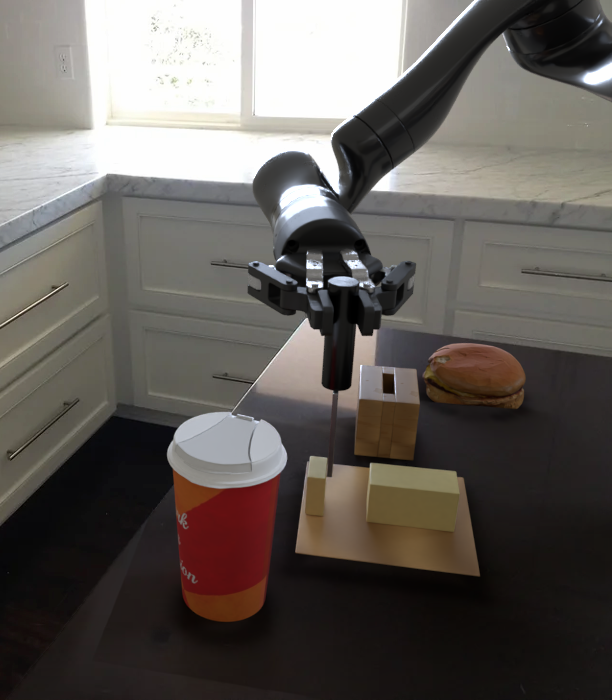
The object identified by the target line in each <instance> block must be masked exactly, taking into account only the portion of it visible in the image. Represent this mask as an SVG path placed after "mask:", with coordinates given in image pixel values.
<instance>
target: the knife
mask: <svg viewBox="0 0 612 700" xmlns="http://www.w3.org/2000/svg"><path fill="white" fill-rule="evenodd" d="M359 287H360V282H359V281H358V280H357V279H354V278H351V277H334V278H331V279H329V281H328V291H327V293H328V294H329V297H330V300H331V302H332V305H333V310H334V315H333V330H332V336H323V337H324V338H323V339H324V340H323V354H322V369H321V381H320V383H321V386H322V387H323V388H324V389H326V390H328V391H332V400H331V414H330V425H329V426H330V427H329V440H328V441H329V442H328V454H327V455H328V456H327V458H328V461H327V464H328V467H327V477H332V472H333V464H334V456H335V447H336V446H335V445H336V431H337V418H338V405H339V393H340V392H343V391H348V390H349V389H350V388H352V385H353V371H354V358H355V346H356V334H357V310H358V298H359Z"/></svg>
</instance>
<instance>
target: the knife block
mask: <svg viewBox="0 0 612 700" xmlns="http://www.w3.org/2000/svg"><path fill="white" fill-rule="evenodd" d="M420 408H421V402H420V391H419V382H418V372H417V369H416V368H408V367H407V368H406V367H395V366H380V365H378V366H377V365H368V364H367V365H366V364H360V366H359V378H358V387H357V398H356V412H355V428H354V429H355V430H354V453H353V454H354V455H355V456H366V457H375V458H382V459H383V458H384V459H394V460H402V461H403V460H404V461H405V460H406V461H414V457H415V447H416V441H417V431H418V425H419V424H418V423H419V416H420Z"/></svg>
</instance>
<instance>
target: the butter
mask: <svg viewBox="0 0 612 700" xmlns="http://www.w3.org/2000/svg"><path fill="white" fill-rule="evenodd" d="M369 468H370V471H369V481H368V491H367V516H366V521H367V522H372V523H380V524H389V525H397V526H406V527H415V528H423V529H432V530H440V531H449V532H454V529H455V522H456V515H457V509H458V502H459V496H460V493H459V486H458V480H457V477H458V475H457V474H458V473H457V471H455V470H446V469H437V468H426V467H415V466H408V465H407V466H406V465H397V464H387V463H378V462H370V463H369Z"/></svg>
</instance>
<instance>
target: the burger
mask: <svg viewBox="0 0 612 700" xmlns="http://www.w3.org/2000/svg"><path fill="white" fill-rule="evenodd" d="M427 363H428V364H427V365H426V368H425V371H424V372H422V377H421V378H422V379H423V381H424V383H425V385H426V386H425V391H426V395H427V396H428V398H429V399H430V400H431V401H432V402H434V403H440V404H451V405H463V406H475V407H486V408H496V409H497V408H498V409H508V410H517V409H519V408H520V407H521V405H522V404H523V402H524V397H525V389H524V388H523V387H524V386H525V383H526V380H527V378H526V377H527V376H526V373H525V370H524V369H523V366H522V365H521V362H519V361H518V360H517V359H516V357H515V356H513V355H512V354H511V353H510V352H508V351H506V350H504V349H502V348H500V347H496V346H493V345H487V344H481V343H471V342H470V343H469V342H467V343H466V342H463V343H462V342H461V343H450V344H447V345H444V346H441V347H440V348H438V349H437V350H435V351H434V352H433V353H432V355H431V356H430V357H429V358H428V360H427Z"/></svg>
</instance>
